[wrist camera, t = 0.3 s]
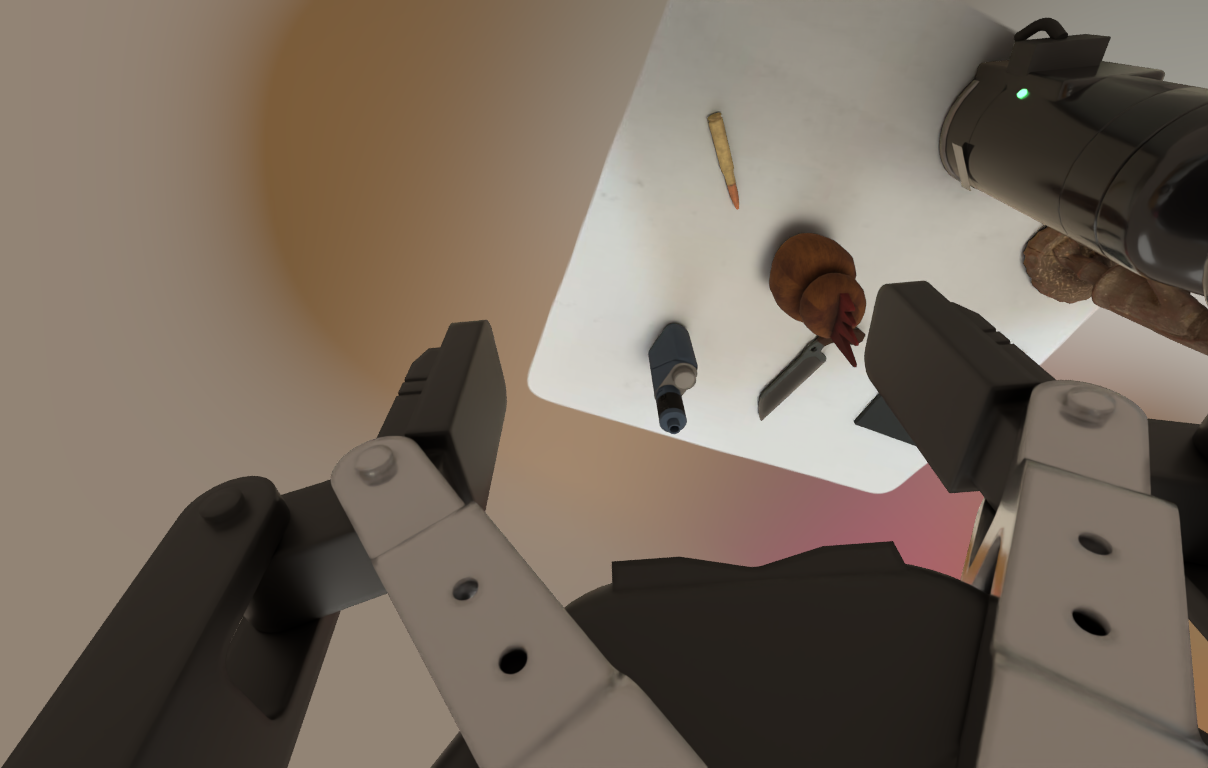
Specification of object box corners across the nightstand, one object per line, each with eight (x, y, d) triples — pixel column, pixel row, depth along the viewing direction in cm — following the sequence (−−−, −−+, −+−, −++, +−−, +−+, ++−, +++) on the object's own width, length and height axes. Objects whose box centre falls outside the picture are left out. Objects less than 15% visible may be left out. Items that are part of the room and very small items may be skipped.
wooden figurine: (805, 298, 53) (868, 391, 41) (751, 281, 52) (800, 371, 40) (843, 233, 49) (926, 314, 37) (787, 213, 48) (852, 290, 36)
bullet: (720, 110, 43) (706, 116, 44) (721, 114, 42) (707, 119, 43) (743, 205, 48) (730, 209, 48) (745, 209, 47) (732, 214, 47)
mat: (942, 321, 55) (945, 324, 54) (1023, 356, 58) (1026, 359, 57) (853, 421, 62) (855, 424, 62) (929, 448, 65) (931, 451, 65)
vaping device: (643, 356, 57) (653, 434, 47) (670, 317, 54) (687, 390, 44) (664, 366, 57) (679, 444, 48) (692, 327, 55) (714, 402, 45)
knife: (838, 314, 54) (841, 317, 53) (866, 333, 55) (868, 337, 55) (742, 408, 61) (743, 412, 60) (768, 423, 62) (770, 427, 62)
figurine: (1137, 233, 50) (1399, 353, 34) (1068, 303, 54) (1273, 440, 38) (1063, 198, 48) (1305, 307, 32) (998, 273, 52) (1183, 404, 36)
